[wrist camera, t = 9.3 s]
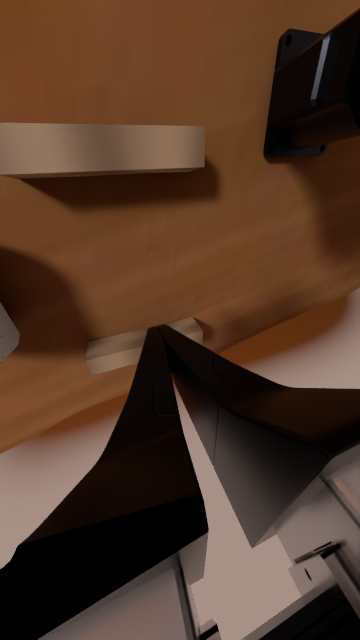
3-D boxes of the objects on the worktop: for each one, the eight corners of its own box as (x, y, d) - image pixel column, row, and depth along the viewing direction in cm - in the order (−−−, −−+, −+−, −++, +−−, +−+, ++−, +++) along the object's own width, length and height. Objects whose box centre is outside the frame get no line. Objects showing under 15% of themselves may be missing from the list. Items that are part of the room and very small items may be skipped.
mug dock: (188, 138, 14) (204, 126, 12) (192, 330, 24) (202, 344, 22) (1, 137, 12) (-26, 122, 9) (93, 355, 22) (92, 375, 19)
